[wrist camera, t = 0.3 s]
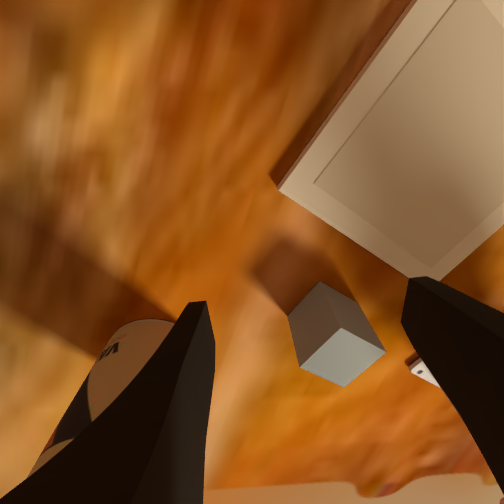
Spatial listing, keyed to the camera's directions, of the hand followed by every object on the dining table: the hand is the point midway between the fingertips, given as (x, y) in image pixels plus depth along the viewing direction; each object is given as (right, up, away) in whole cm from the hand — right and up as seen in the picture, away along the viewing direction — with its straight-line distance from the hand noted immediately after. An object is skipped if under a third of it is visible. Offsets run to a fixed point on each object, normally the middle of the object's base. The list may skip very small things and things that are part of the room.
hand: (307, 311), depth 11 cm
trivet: (+9, +8, +7) cm, 14 cm away
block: (+4, -2, +13) cm, 14 cm away
